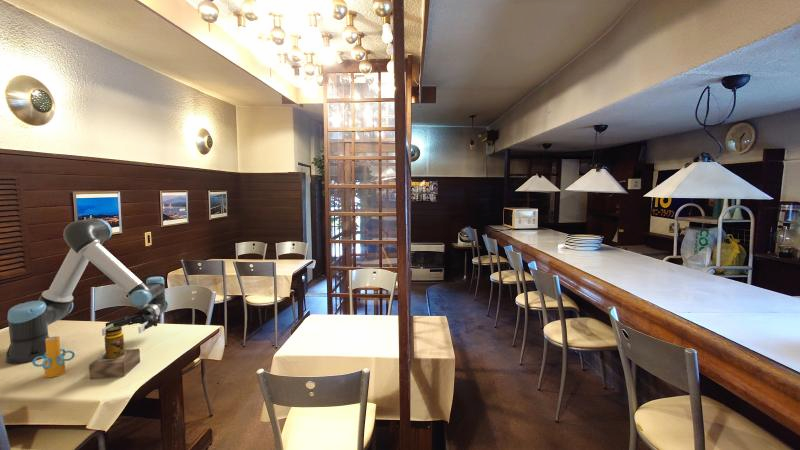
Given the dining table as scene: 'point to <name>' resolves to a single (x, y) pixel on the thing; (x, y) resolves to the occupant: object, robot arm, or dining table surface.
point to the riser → (115, 365)
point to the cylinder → (53, 358)
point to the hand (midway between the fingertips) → (121, 331)
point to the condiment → (113, 344)
